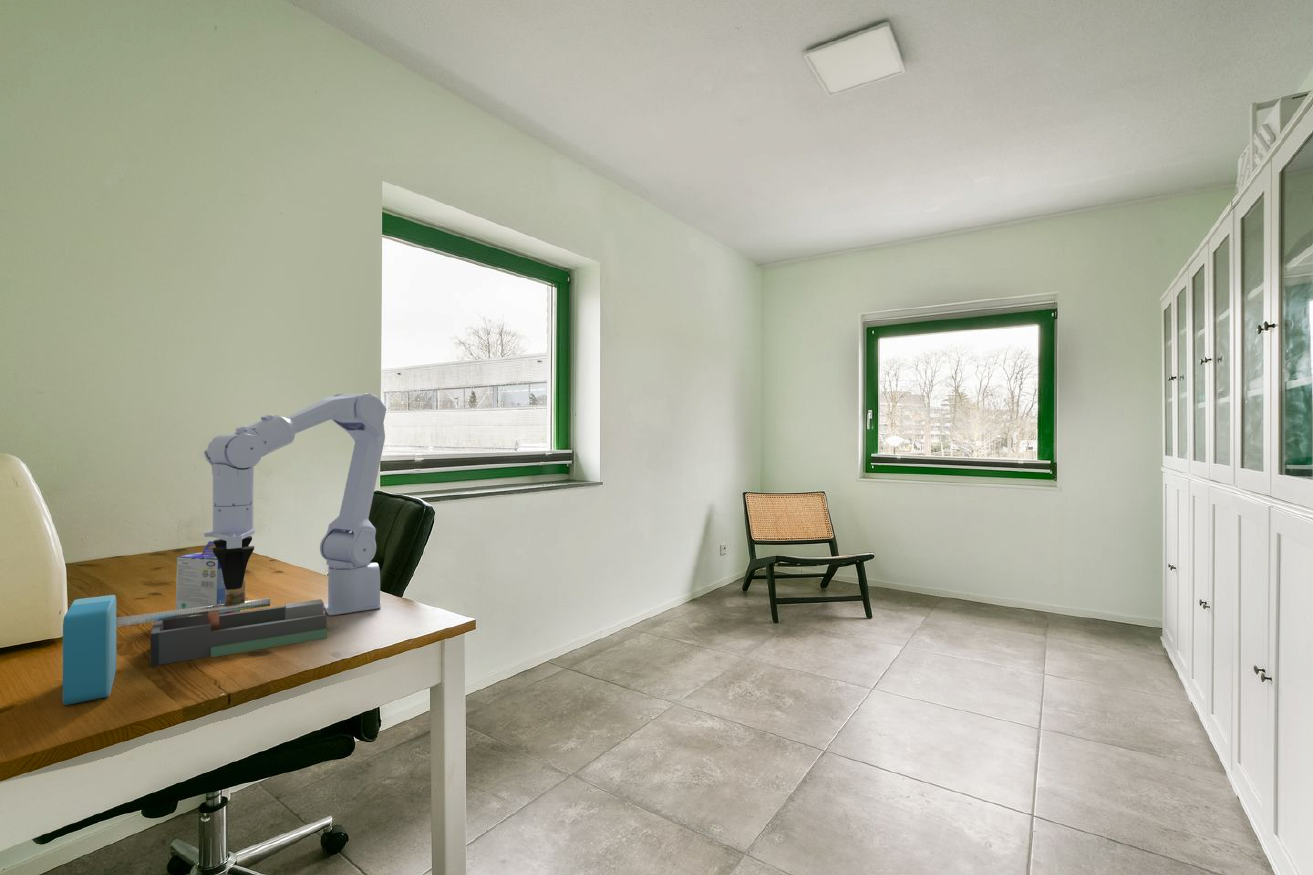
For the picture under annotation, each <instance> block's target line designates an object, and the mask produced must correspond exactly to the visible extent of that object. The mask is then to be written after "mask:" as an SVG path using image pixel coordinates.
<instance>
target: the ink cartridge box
mask: <svg viewBox="0 0 1313 875" xmlns="http://www.w3.org/2000/svg"><path fill="white" fill-rule="evenodd" d="M213 541H214V540H212V541H211V540H209V541H208V542H207V543H206V545H205V547H204V550H203V551H202V552H194V553H190V554H184V555H180V556H177V557H176V580H175V581H176V586H175V587H176V588H175V610H180V609H188V608H195V607H203V606H211V605H219V604H225V599H226V588H225V585H224V580H223V575H222V570H221V566H220V564H219V561H218V559H217V558H216V556H215V555H214V553H213V548H210V547H211V546H215V545H214V543H213ZM236 612H241V610H237V611H230V612H222V613H219V615H221V614H229V613H236Z"/></svg>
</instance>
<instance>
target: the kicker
mask: <svg viewBox="0 0 1313 875" xmlns="http://www.w3.org/2000/svg"><path fill="white" fill-rule="evenodd" d="M270 606H271V598H270V597H268V598H267V597H266V598H260V599H259V598H258V599H251V600H246V577H244V580H243V584H242V587H241V588H240V589H231V590H226V599H225V604H219V605H211V606H203V607H195V608H188V609H180V610H176V609H174V610H172V609H171V610H167V611H158V612H150V613H143V614H133V615H126V616H119V617H116V628H117V627H125V626H133V625H140V624H147V623H154V622H156V621H163V620H171V619H178V618H185V617H193V616H200V615H208V624H211V631H214V630H219V613H222V612H230V611H237V610H240V611H242V610H243V611H246V610H250V609H251V610H252V609H259V608H265V607H267V608H268V607H270Z"/></svg>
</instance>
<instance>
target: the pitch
mask: <svg viewBox="0 0 1313 875" xmlns="http://www.w3.org/2000/svg"><path fill="white" fill-rule="evenodd" d="M324 604H325V603H324V601H323V600H322V599H321V598H320V599H319V598H318V599H313V600H311V599H310V600H304V601H298V602H291V603H284V605H282V606H273V607H267V608H265V607H264V608H260V609H259V608H257V609H253V610H252V609H251V610H243V611H240V612H236V613H229V614H221V615H219V630H214V631H211V624H208V615H200V616H193V617H185V618H178V619H171V620H163V621H156V622H153V625H152V629H151V632H150V667H155V666H161V665H167V664H173V663H177V662H184V661H189V660H191V661H192V660H197V659H203V658H208V657H210V658H216V657H222V656H227V655H228V656H229V655H235V654H240V653H245V652H250V651H251V652H252V651H257V650H263V649H270V648H274V647H281V646H282V647H283V646H286V645H293V644H299V643H305V642H304V641H306V642H310V641H311V642H312V641H316V640H323V639H327V638H328V628H327V623H328V622H327V615H328V614H326V613H325V612H324V611H325V610H324V609H325V608H324Z"/></svg>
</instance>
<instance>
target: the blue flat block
mask: <svg viewBox="0 0 1313 875" xmlns="http://www.w3.org/2000/svg"><path fill="white" fill-rule="evenodd" d="M116 618H117V597H116V595H115V594H109V595H102V596H93V597H86V598H78V599H74V600H72V603H71V605H70V607H69V608H68V610H67V612H66V613H65V614H64V617H63V622H62V703H63V705H64V706H69V705H73V704H79V703H85V702H88V701H94V700H98V699H103V698H104V699H105V698H109V697H110V695H111V692H112V689H113V684H114V680H115V677H116V674H117V673H116V671H117V627H116Z"/></svg>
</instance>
